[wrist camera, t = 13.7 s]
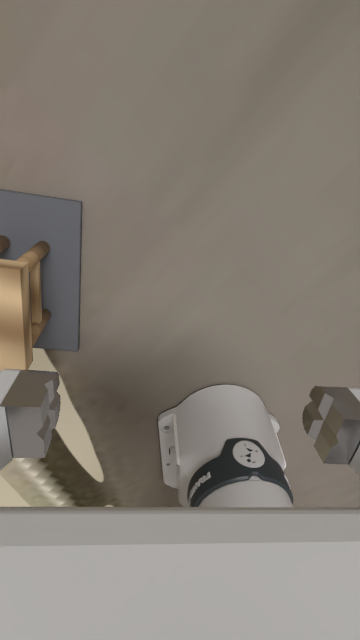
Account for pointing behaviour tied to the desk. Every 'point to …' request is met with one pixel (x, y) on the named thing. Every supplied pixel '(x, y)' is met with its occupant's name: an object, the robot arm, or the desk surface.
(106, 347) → the desk surface
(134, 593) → the robot arm
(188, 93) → the desk surface
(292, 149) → the desk surface
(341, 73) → the desk surface
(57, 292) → the charcoal mat
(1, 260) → the oak stool
